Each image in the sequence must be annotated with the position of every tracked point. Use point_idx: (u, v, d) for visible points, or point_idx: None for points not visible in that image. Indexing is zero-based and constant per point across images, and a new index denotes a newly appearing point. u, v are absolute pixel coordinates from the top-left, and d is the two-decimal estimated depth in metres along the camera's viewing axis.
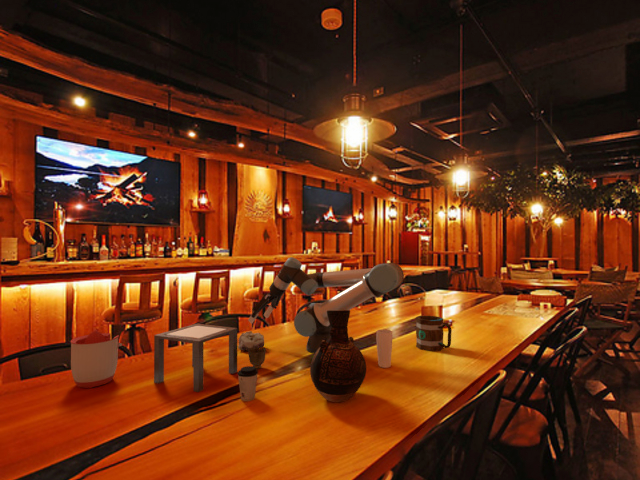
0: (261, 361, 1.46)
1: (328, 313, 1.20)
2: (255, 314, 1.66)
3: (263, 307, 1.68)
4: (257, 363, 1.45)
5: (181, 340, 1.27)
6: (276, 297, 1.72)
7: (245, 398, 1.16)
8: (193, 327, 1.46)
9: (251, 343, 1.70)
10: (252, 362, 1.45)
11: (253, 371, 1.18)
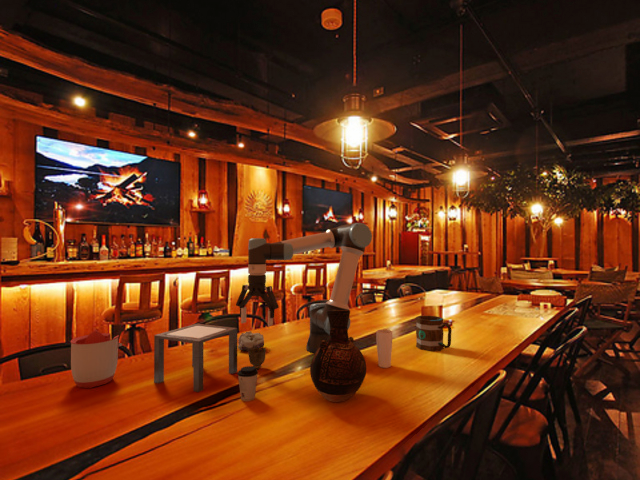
0: (261, 361, 1.46)
1: (328, 313, 1.20)
2: (273, 312, 1.46)
3: None
4: (257, 363, 1.45)
5: (181, 340, 1.27)
6: None
7: (245, 398, 1.16)
8: (193, 327, 1.46)
9: (251, 343, 1.70)
10: (252, 362, 1.45)
11: (253, 371, 1.18)
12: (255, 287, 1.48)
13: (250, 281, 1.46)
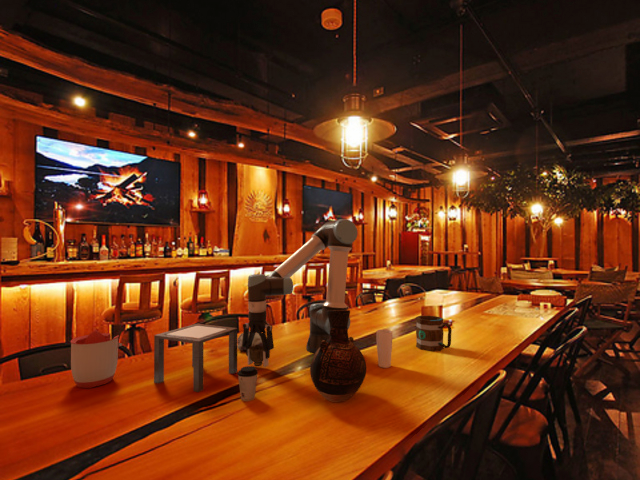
0: (262, 358, 1.46)
1: (328, 313, 1.20)
2: None
3: None
4: (258, 360, 1.45)
5: (181, 340, 1.27)
6: None
7: (245, 398, 1.16)
8: (193, 327, 1.46)
9: None
10: (253, 359, 1.46)
11: (253, 371, 1.18)
12: (255, 324, 1.47)
13: (250, 318, 1.45)
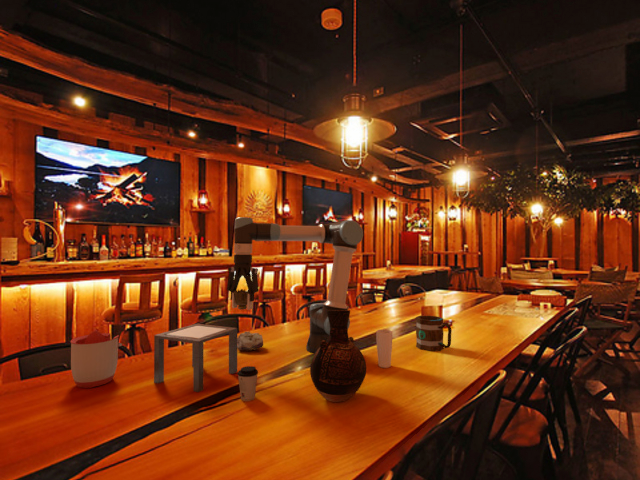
0: (246, 301, 1.45)
1: (328, 313, 1.20)
2: None
3: None
4: (242, 303, 1.44)
5: (181, 340, 1.27)
6: None
7: (245, 398, 1.16)
8: (193, 327, 1.46)
9: (250, 343, 1.70)
10: (237, 302, 1.44)
11: (253, 371, 1.18)
12: (241, 267, 1.46)
13: (236, 260, 1.44)
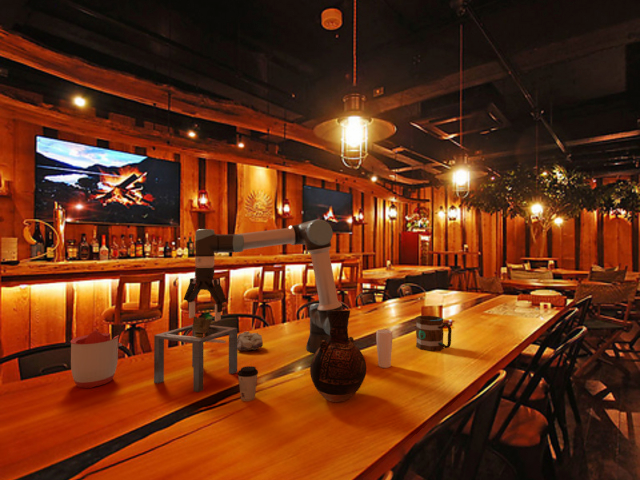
0: (204, 329, 1.42)
1: (328, 313, 1.20)
2: None
3: None
4: (200, 329, 1.41)
5: (181, 340, 1.27)
6: None
7: (245, 398, 1.16)
8: (192, 336, 1.45)
9: (250, 343, 1.70)
10: (195, 328, 1.41)
11: (253, 371, 1.18)
12: (202, 280, 1.42)
13: (196, 274, 1.40)
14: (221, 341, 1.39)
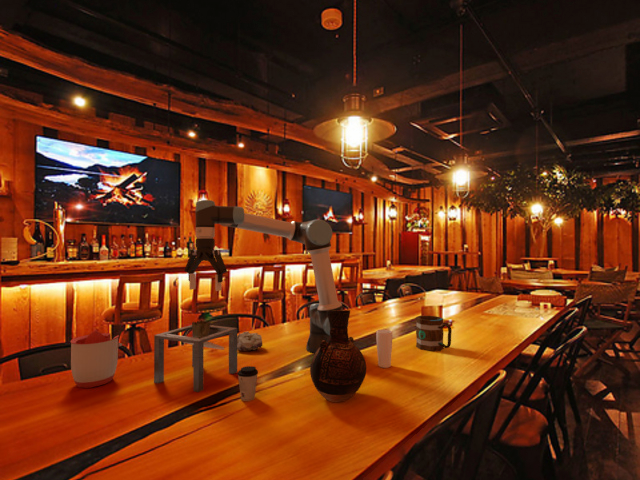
0: (204, 333, 1.42)
1: (328, 313, 1.20)
2: None
3: None
4: (200, 335, 1.41)
5: (181, 340, 1.27)
6: None
7: (245, 398, 1.16)
8: None
9: (249, 343, 1.70)
10: (195, 334, 1.42)
11: (253, 371, 1.18)
12: (203, 251, 1.42)
13: (197, 244, 1.40)
14: (220, 346, 1.39)
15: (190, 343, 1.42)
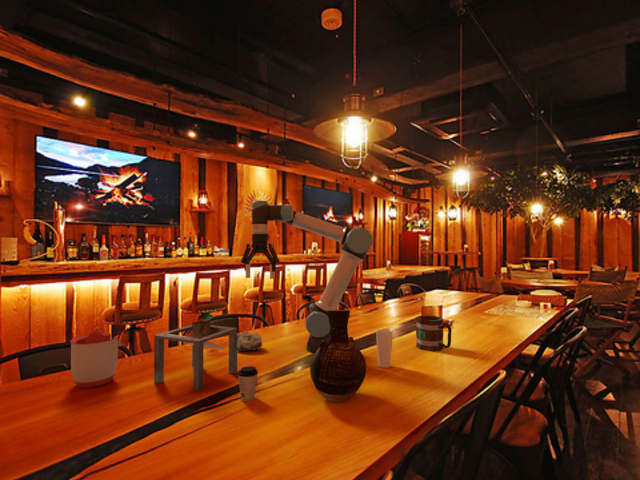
0: (204, 333, 1.42)
1: (328, 313, 1.20)
2: None
3: None
4: (200, 335, 1.41)
5: (181, 340, 1.27)
6: None
7: (245, 398, 1.16)
8: None
9: (249, 343, 1.70)
10: (195, 334, 1.42)
11: (253, 371, 1.18)
12: (258, 245, 1.64)
13: (254, 239, 1.62)
14: (220, 346, 1.39)
15: (190, 343, 1.42)
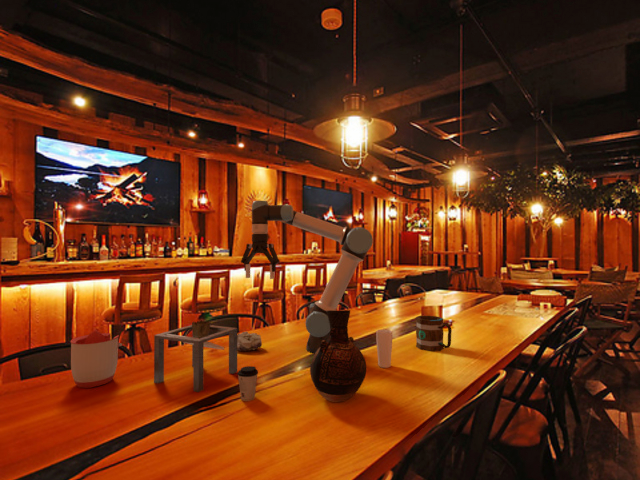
0: (204, 333, 1.42)
1: (328, 313, 1.20)
2: None
3: None
4: (200, 335, 1.41)
5: (181, 340, 1.27)
6: None
7: (245, 398, 1.16)
8: None
9: (249, 343, 1.70)
10: (195, 334, 1.42)
11: (253, 371, 1.18)
12: (258, 245, 1.64)
13: (254, 239, 1.62)
14: (220, 346, 1.39)
15: (190, 343, 1.42)
